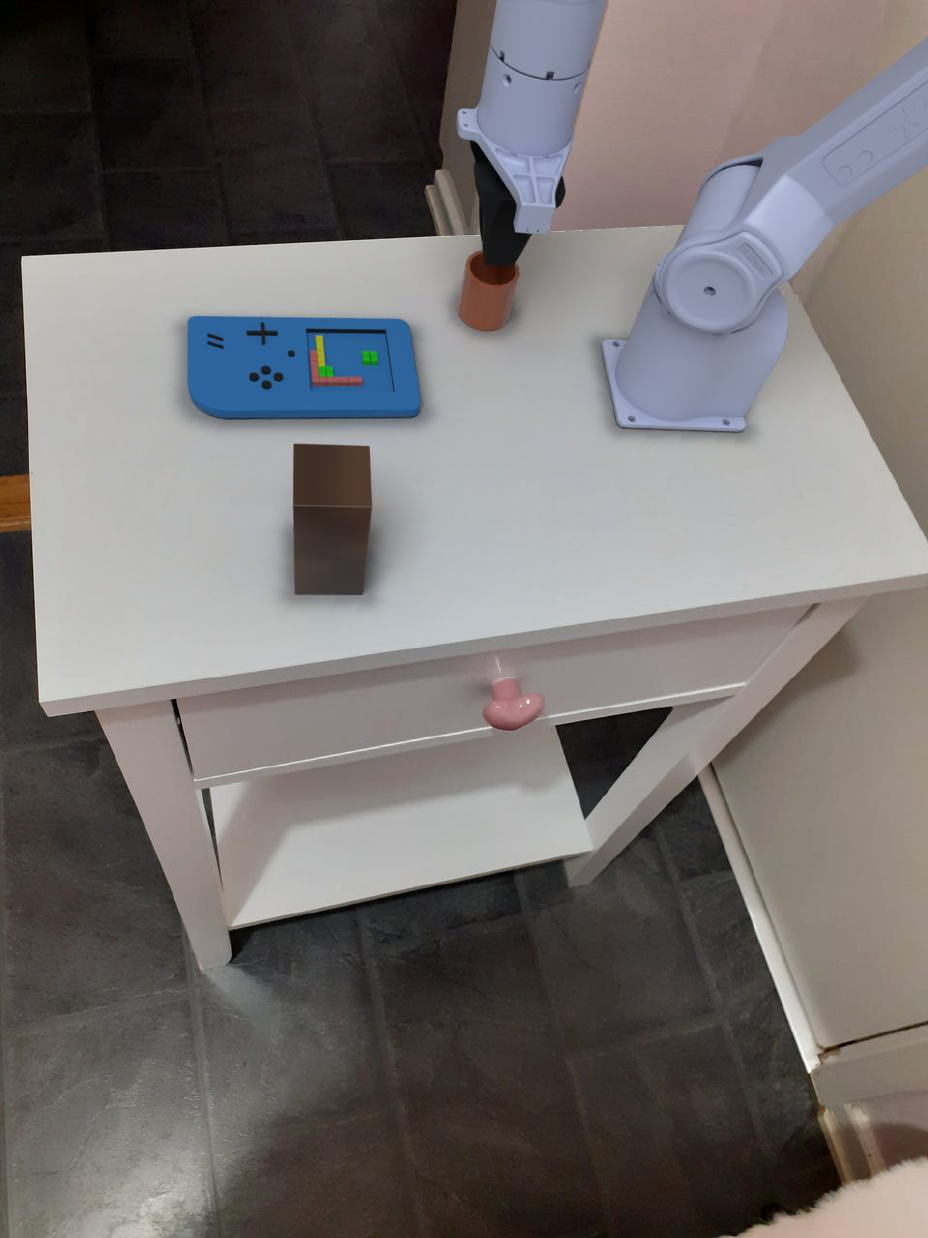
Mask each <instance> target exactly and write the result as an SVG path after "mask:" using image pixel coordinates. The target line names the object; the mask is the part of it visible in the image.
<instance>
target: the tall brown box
mask: <svg viewBox="0 0 928 1238" xmlns="http://www.w3.org/2000/svg"><path fill="white" fill-rule="evenodd" d="M292 451H293V453H292V532H293V535H292V536H293V538H292V539H293V580H294V581H293V583H294V584H293V585H294V595H325V596H326V595H335V596H336V595H337V596H339V595H341V596H343V595H345V596H347V595H348V596H350V595H351V596H352V595H353V596H362V595H363V594H364V588H365V586H364V585H365V578H366V570H367V562H368V561H367V560H368V550H369V542H370V532H371V522H372V515H373V491H372V489H373V488H372V468H371V467H372V464H371V463H372V462H371V447H370V445H356V444H355V445H353V444H351V445H350V444H323V443H322V444H321V443H293V445H292Z"/></svg>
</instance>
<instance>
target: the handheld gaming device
mask: <svg viewBox="0 0 928 1238" xmlns="http://www.w3.org/2000/svg"><path fill="white" fill-rule="evenodd" d="M411 333H412V332H411V327H410V324H409V323H408V322H407V321H405V320H404V319H401V318H377V317H375V318H374V317H373V318H371V317H370V318H369V317H368V318H367V317H304V316H303V317H302V316H301V317H299V316H298V317H297V316H296V317H295V316H290V317H289V316H234V315H233V316H230V315H228V316H227V315H226V316H225V315H193V316H191V317H189V318H188V320H187V388H188V395H189V397H190V399H191V401H192V403H193V404H194V406H196V407H197V408H198V409H199V410H201V411H202V412H203V413H205V414H207V415H210V416H213V417H216V418H221V419H285V418H286V419H292V418H293V419H296V418H297V419H298V418H301V419H302V418H410V417H412V418H413V417H415V416H417V415H418V414H419V413H420V409H421V403H422V402H421V394H420V388H419V381H418V375H417V367H416V359H415V354H414V347H413V340H412V334H411Z"/></svg>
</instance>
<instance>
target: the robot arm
mask: <svg viewBox="0 0 928 1238" xmlns="http://www.w3.org/2000/svg"><path fill="white" fill-rule="evenodd" d="M607 1H608V0H496V3H495V8H494V15H493V21H492V26H491V34H490V40H489V44H488V45H489V46H488V52H487V57H486V61H485V62H486V63H485V69H484V73H483V74H484V76H483V81H482V87H481V92H480V99H479V102H478V104H477V106H476V107H475V108H461V109H458V110H457V113H456V114H457V115H456V121H455V122H456V123H455V124H456V130H457V131H456V132H457V136H458V137H459V138H461V139H462V140H465V141H469V147H470V150H471V153H472V155H473V159H474V163H473V177H474V185H475V189H476V193H477V197H478V223H479V225H478V226H479V233H480V239H481V247H482V249H481V250H483V258H484V264H485V265H491V266H507V267H512V266H514V264H515V263H516V264H517V261H518V260H519V258H520V256H521V255H522V253H523V251H524V250H525V248H526V246H527V244H528V243H529V241H530V238H531V237H532V236H533V235H545V236H546V235H547V236H548V235H549V234H550V229H551V226H552V223H553V219H554V216H555V211H556V209H558V208H559V207H561V206H562V205H563V204H562V203H563V202H564V200H565V197H566V193H567V192H566V191H567V190H566V184H565V180H564V176H562V175H563V173H564V169H565V167H566V164H567V161H568V158H569V155H570V153H571V150H572V146H573V144H574V143H573V142H574V138H575V129H574V126H575V123H576V117H577V115H578V111H579V107H580V104H581V100H582V97H583V93H584V88H585V85H586V81H587V77H588V74H589V70H590V66H591V62H592V58H593V55H594V50H595V47H596V43H597V39H598V35H599V31H600V28H601V25H602V20H603V16H604V13H605V10H606V6H607ZM926 167H928V36H926V38H924V39H923V40H922V41H920V42H919V43H917V44H916V45H915V46H914V47H912V48H911V49H909V50H908V51H907V52H906V53H905V54H903V55H902V56H901V57H899V58H898V59H897V60H895V61H894V62H893V63H892V64H890V65H889V66H888V67H886V68H885V69H884V70H882V71H881V72H880V73H879V74H878V75H876V76H874V77H873V78H872V79H871V80H870V81H868V82H867V83H866V84H864V85H863V86H862V87H861V88H860V89H858V90H856V92H854V93H853V94H852V95H850V96H849V97H848V98H847V99H845V100H844V101H843V102H841V103H840V104H839V105H837V106H836V107H834V109H832V110H831V111H830V112H828V113H827V114H826V115H824V116H823V117H821V118H820V119H819V120H818V121H816V122H815V123H814V124H813V125H811V126H810V127H809V128H808V129H806V130H805V131H803V133H801V134H799V135H783V136H780V137H777V138H776V139H775V140H773V141H772V142H770V144H768V145H767V146H765V147H764V148H762V149H760V150H759V151H757V152H755V153H752V154H749V155H743V156H740V157H734V158H731V159H728V160H726V161H723V162H721V163H720V164H718V165H717V166H716V167H714V168H713V169H712V170H711V171H709V173H708V174H707V175H706V176H705V177H704V179H703V180H702V182H701V184H700V186H699V188H698V192H697V195H696V198H695V202H694V205H693V207H692V208H691V211H690V213H689V215H688V218H687V220H686V222H685V224H684V225H683V228H682V230H681V231H680V235H679V236H678V239H677V241H676V242H675V245H674V247H673V249H672V250H670V251H669V252H667V253H665V254H664V256H662V257H661V259H660V260H659V261H658V263H657V265H656V268H655V271H654V273H653V276H652V277H651V281H650V282H649V285H648V287H647V290H646V292H645V295H644V297H643V300H642V302H641V305H640V307H639V310H638V312H637V314H636V317H635V319H634V322H633V324H632V326H631V329H630V331H629V334H628V336H627V339H612V338H607V339H604V340H603V341H602V342H601V351H602V352H601V353H602V355H603V362H604V365H605V371H606V377H607V381H608V386H609V390H610V395H611V401H612V405H613V411H614V415H615V421H616V424H617V425H618V426H619V427H621V428H629V429H630V428H631V429H632V428H633V429H634V428H635V429H656V430H657V429H659V430H660V429H662V430H685V431H686V430H687V431H689V430H690V431H712V432H713V431H714V432H715V431H716V432H737V433H738V432H739V433H740V432H743V431H744V429H746V426H747V422H746V419H745V416H746V414H747V413H748V411H749V409H750V408H751V406H752V404H753V403H754V401H755V400H756V398H757V396H759V395H758V394H759V393H760V391H761V390H762V388H763V387H764V385H765V383H766V382H767V380H768V379H769V377H770V375H771V374H772V372H773V370H774V369H775V367H776V366H777V364H778V362H779V360H780V358H781V356H782V353H783V351H784V347H785V345H786V341H787V336H788V330H789V310H788V304H787V300H786V297H785V295H784V294H783V292H782V290H780V289H779V287H780V286H782V285H783V284H785V283H786V282H788V281H789V280H791V279H793V278H794V277H795V276H796V275H797V273H798V272H799V271H800V270H801V269H802V268H803V266H804V265H805V264H806V263H807V261H808V260H809V259H810V258H811V257H812V256H813V254H814V253H815V251H816V250H817V249H818V248H819V246H820V245H821V244H822V243H823V242H824V241H825V239H826V238H827V236H828V235H829V234H830V233H831V232H832V231H833V230H834V229H835V228H836V227H837V226H838V225H840V224H841V223H843V222H845V221H846V220H847V219H849V218H851V217H852V216H853V215H855V214H856V213H858V212H860V211H861V210H862V209H864V208H866V207H867V206H869V205H870V204H872V203H873V202H875V201H876V200H878V199H879V198H881V197H882V196H884V195H885V194H887V193H888V192H890V191H892V190H893V189H895V188H896V187H898V186H899V185H901V184H902V183H904V182H905V181H907V180H908V179H910V178H912V177H913V176H914V175H916V174H918V173H919V172H921V171H923V169H926Z"/></svg>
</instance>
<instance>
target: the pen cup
mask: <svg viewBox="0 0 928 1238" xmlns="http://www.w3.org/2000/svg"><path fill="white" fill-rule="evenodd" d="M520 275H521V272H520V267H519V265H518V264H517V262H516V263H515V264H514V266H512V267H507V266H491V265H485V264H484V258H483V249H481V250H477V251H474V252H473V253H472V254H470V255H468V257H467V259H466V261H465V264H464V269H463V275H462V280H461V285H460V290H459V296H458V302H457V314H458V316H459V317H460V320H461V321H462V322H463V323H464V324H466V325H467V326H468V327H470V328H472V329H474V330H478V331H482V332H493V331H497V330H500V329H501V328H503V327H504V326H505V325H506V324H507V322H508V321H509V317H510V314H511V311H512V307H513V304H514V303H513V302H514V300H515V295H516V291H517V288H518V283H519V280H520Z"/></svg>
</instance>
